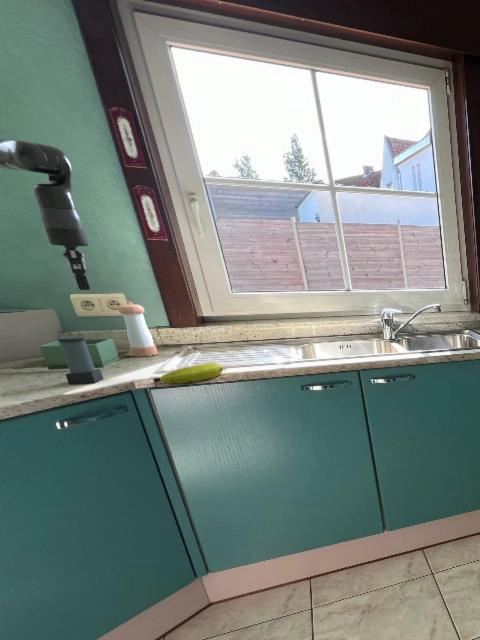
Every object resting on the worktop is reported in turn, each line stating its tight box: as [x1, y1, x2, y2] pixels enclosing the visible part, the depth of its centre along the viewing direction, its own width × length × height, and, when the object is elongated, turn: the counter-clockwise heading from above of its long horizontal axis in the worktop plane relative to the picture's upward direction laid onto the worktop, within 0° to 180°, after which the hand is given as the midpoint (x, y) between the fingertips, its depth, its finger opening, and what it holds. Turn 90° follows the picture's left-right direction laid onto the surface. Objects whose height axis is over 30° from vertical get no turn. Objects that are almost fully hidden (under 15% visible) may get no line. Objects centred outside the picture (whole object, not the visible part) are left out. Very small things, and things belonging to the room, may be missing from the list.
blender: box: [56, 335, 104, 385], centre depth 144 cm, size 6×6×13 cm
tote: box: [39, 337, 121, 371], centre depth 165 cm, size 14×14×8 cm
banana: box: [152, 362, 224, 384], centre depth 154 cm, size 5×17×15 cm
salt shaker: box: [118, 301, 159, 358], centre depth 179 cm, size 7×7×19 cm
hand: (84, 288), depth 141 cm, fingers open, 8 cm apart
